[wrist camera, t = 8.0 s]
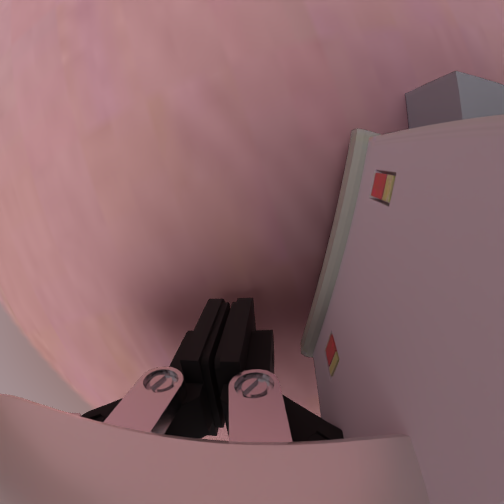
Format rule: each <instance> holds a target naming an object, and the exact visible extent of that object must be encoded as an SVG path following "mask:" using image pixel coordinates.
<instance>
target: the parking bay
mask: <svg viewBox="0 0 504 504" xmlns="http://www.w3.org/2000/svg"><path fill="white" fill-rule="evenodd" d="M405 96H406V105H407V114H408V125H409V129H412V128H417V127H422V126H428V125H433V124H439V123H445V122H451V121H457V120H464V119H471V118H478V117H486V116H494V115H503V114H504V85H502V84H499V83H496V82H493V81H490V80H487V79H483V78H480V77H476V76H473V75H469V74H465V73H462V72H457V71H454V72H452V73H450V74H447V75H445V76H443V77H441V78H438V79H436V80H434V81H432V82H429V83H427V84H425V85H423V86H421V87H418V88H416V89H414V90H412V91H410V92H408V93H406V94H405Z"/></svg>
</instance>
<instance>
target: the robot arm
mask: <svg viewBox="0 0 504 504" xmlns="http://www.w3.org/2000/svg"><path fill="white" fill-rule="evenodd" d="M225 422H226V427H227V431H228V435H229V441H220V440H208V439H202V438H203V437H204V436H206V435H212V436H217V432H218V428H219V427H220V428H223V427H224V424H225ZM0 504H430V501H429V498H428V494H427V490H426V487H425V483H424V480H423V476H422V473H421V469H420V466H419V463H418V460H417V457H416V454H415V450H414V447H413V444H412V441H411V438H410V437H409V436H407V435H403V434H386V435H375V436H366V437H355V438H345V439H344V437H343V431H342V430H341V429H340V428H338V427H336V426H334V425H332V424H331V423H329V422H327V421H325V420H324V419H322V418H320V417H318V416H317V415H315V414H313V413H312V412H310V411H308V410H307V409H305V408H303V407H302V406H300V405H298V404H297V403H295V402H293V401H292V400H290V399H289V398H287V397H285V396H284V395H282V391H281V386H280V382H279V380H278V378H277V376H275V375H274V342H273V330H256V327H255V316H254V304H253V298H238V300H237V302H233V303H232V306H231V309H230V304H229V302H225V301H224V299H209V300H208V302H207V304H206V306H205V308H204V310H203V312H202V314H201V316H200V319H199V321H198V323H197V325H196V327H195V329H194V331H188V332H187V333H186V335H185V337H184V339H183V341H182V343H181V345H180V347H179V349H178V351H177V353H176V355H175V357H174V359H173V361H172V362H171V364H170V366H169V367H165V366H164V367H157V368H154V369H151V370H149V371H147V372H145V373H144V374H143V375H142V376H141V377H140V378H139V380H138V381H137V382H136V383H135V384H134V386H133V387H132V388H131V389H130V390H129V392H128V393H127V394H126V395H125V396H124V398H122V399H120V400H117V401H115V402H112V403H109V404H107V405H104V406H102V407H99V408H96V409H94V410H91V411H89V412H87V413H85V414H83V415H82V416H81V414H80V413H67V412H64V411H61V410H57V409H54V408H51V407H48V406H45V405H42V404H39V403H36V402H33V401H30V400H27V399H24V398H20V397H17V396H13V395H7V394H0Z"/></svg>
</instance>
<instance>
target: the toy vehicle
mask: <svg viewBox="0 0 504 504" xmlns="http://www.w3.org/2000/svg"><path fill="white" fill-rule="evenodd" d="M301 354H303V355H304V356H306V357H312V358H313V359H314V366H315V373H316V380H317V388H318V395H319V403H320V412H321V418H322V419H324V420H325V421H327V422H329V423H331V424H332V425H334V426H336V427H338V428H340V429H341V430H342V431H343V437H344V439H345V438H355V437H366V436H375V435H386V434H403V435H407V436H409V437H410V438H411V441H412V444H413V447H414V450H415V454H416V457H417V460H418V463H419V466H420V469H421V473H422V476H423V480H424V483H425V487H426V490H427V494H428V498H429V501H430V504H504V114H503V115H494V116H486V117H478V118H471V119H464V120H457V121H451V122H445V123H439V124H433V125H428V126H422V127H417V128H412V129H407V130H402V131H397V132H392V133H387V134H383V135H381V134H378V133H374V132H371V131H368V130H363V129H355V130H352V132H351V138H350V144H349V149H348V155H347V160H346V165H345V170H344V175H343V180H342V185H341V190H340V194H339V199H338V204H337V208H336V213H335V217H334V221H333V226H332V230H331V234H330V238H329V242H328V246H327V250H326V254H325V258H324V262H323V266H322V270H321V274H320V277H319V281H318V285H317V289H316V292H315V296H314V299H313V303H312V306H311V310H310V313H309V317H308V320H307V324H306V327H305V330H304V333H303V337H302V340H301Z"/></svg>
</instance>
